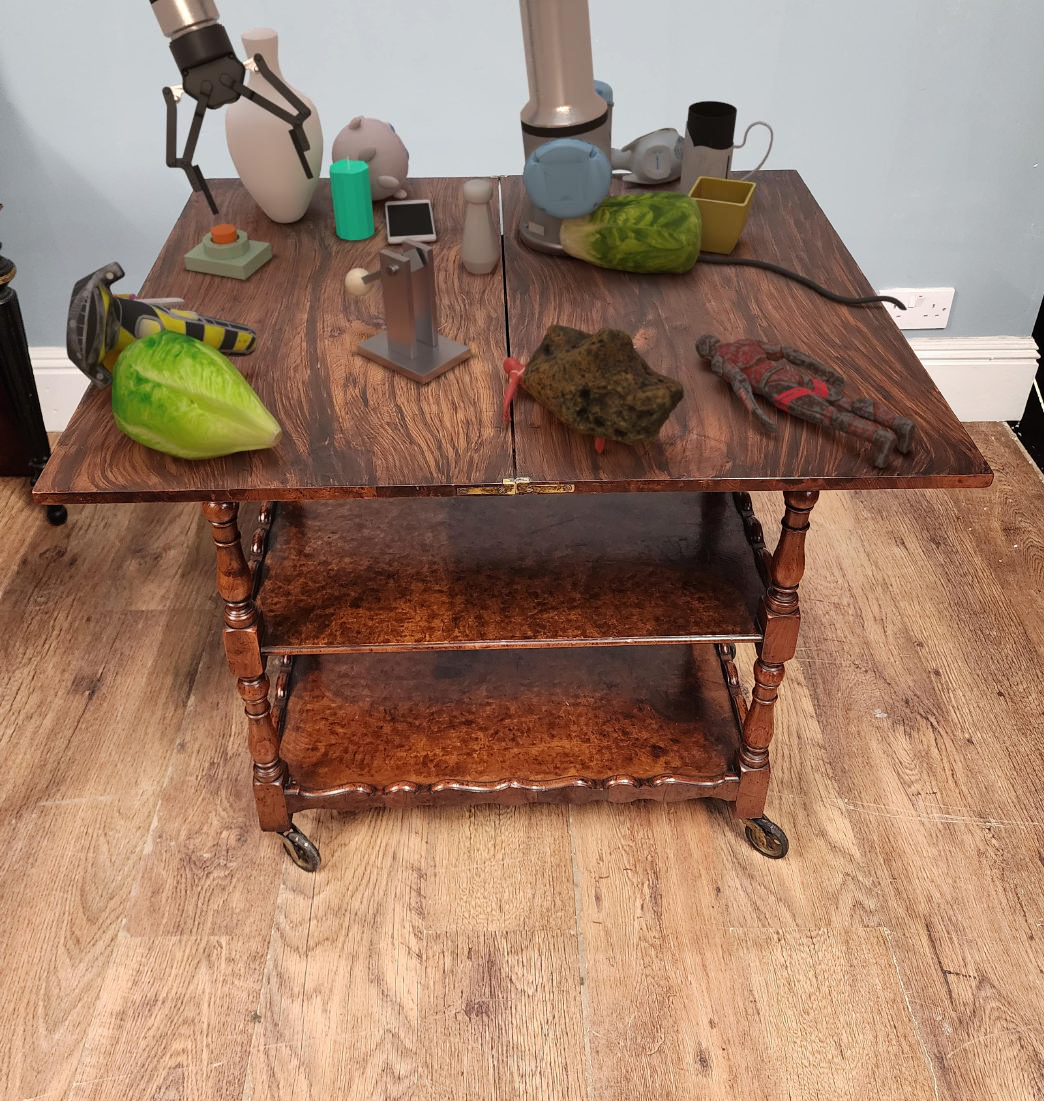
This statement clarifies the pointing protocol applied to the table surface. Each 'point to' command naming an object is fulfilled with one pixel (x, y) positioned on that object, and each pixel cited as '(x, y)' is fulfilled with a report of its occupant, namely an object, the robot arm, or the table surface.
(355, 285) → the lever
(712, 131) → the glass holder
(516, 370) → the figurine
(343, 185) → the candle
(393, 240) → the smartphone
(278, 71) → the vase
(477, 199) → the salt shaker
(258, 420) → the lettuce
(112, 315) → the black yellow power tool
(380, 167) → the toy
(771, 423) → the figurine
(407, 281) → the bracket
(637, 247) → the lettuce
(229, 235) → the button
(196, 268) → the button block
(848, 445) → the table surface
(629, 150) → the white rounded ceramic body
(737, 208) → the flower pot
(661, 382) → the rock
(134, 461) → the table surface
